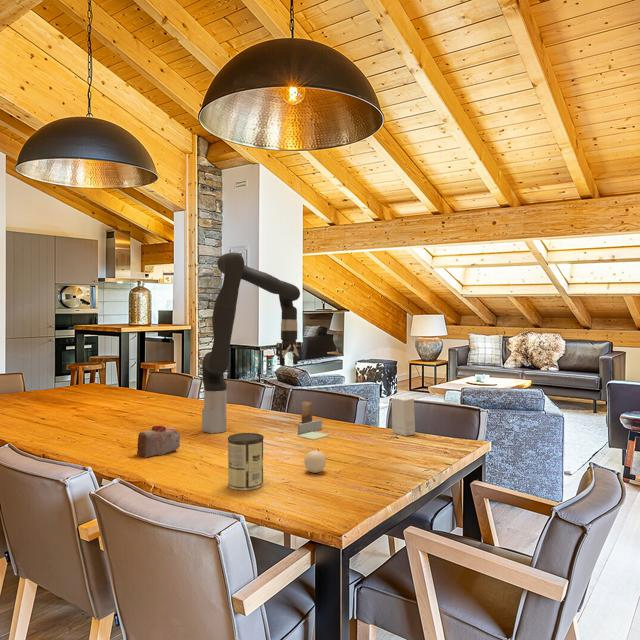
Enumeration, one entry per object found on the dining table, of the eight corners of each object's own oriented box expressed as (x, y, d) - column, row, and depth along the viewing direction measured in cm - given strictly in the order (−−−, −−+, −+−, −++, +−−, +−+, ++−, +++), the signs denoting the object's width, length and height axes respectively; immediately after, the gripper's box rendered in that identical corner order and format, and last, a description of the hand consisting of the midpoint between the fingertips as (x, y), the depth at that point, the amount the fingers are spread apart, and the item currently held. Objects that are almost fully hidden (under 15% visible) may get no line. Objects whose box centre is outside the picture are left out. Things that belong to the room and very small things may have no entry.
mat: (313, 440, 213) (313, 439, 213) (296, 436, 219) (296, 435, 219) (329, 435, 221) (329, 434, 221) (312, 432, 226) (312, 431, 226)
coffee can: (237, 478, 164) (238, 431, 164) (269, 481, 161) (269, 434, 160) (220, 488, 154) (221, 438, 154) (253, 492, 151) (254, 442, 151)
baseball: (325, 468, 174) (325, 447, 174) (326, 475, 167) (326, 453, 167) (304, 468, 174) (304, 447, 174) (304, 475, 167) (304, 453, 167)
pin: (307, 428, 233) (307, 403, 233) (299, 427, 236) (299, 402, 236) (314, 427, 237) (314, 402, 237) (306, 425, 240) (306, 400, 239)
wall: (300, 434, 222) (300, 425, 221) (297, 434, 222) (297, 424, 222) (321, 429, 232) (321, 420, 232) (319, 428, 233) (319, 419, 233)
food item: (169, 448, 199) (169, 421, 199) (181, 451, 194) (181, 424, 194) (135, 455, 189) (135, 426, 189) (147, 459, 184) (147, 430, 184)
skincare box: (415, 434, 223) (415, 398, 223) (404, 436, 220) (404, 399, 220) (401, 430, 230) (401, 396, 230) (390, 432, 227) (391, 397, 227)
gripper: (293, 329, 255) (293, 363, 255) (272, 329, 244) (271, 365, 244) (305, 329, 250) (305, 364, 250) (284, 330, 239) (283, 366, 239)
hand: (288, 365), depth 247 cm, fingers open, 8 cm apart
